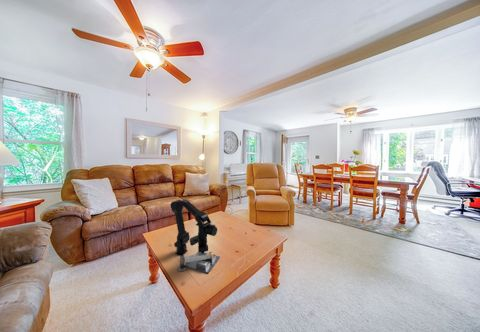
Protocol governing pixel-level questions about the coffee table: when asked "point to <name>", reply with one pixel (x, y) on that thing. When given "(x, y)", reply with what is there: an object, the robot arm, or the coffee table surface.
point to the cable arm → (199, 257)
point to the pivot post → (182, 264)
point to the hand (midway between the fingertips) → (202, 254)
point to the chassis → (203, 264)
